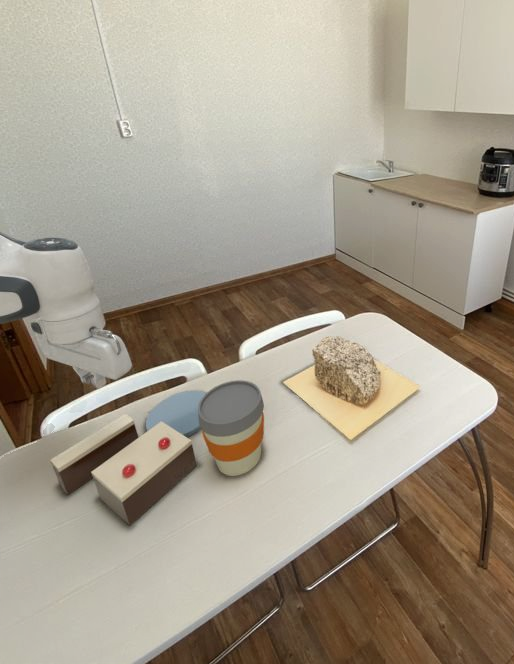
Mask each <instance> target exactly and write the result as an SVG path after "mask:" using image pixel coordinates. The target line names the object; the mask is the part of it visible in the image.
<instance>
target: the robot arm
mask: <svg viewBox="0 0 514 664" xmlns="http://www.w3.org/2000/svg"><path fill="white" fill-rule="evenodd" d="M94 281H95V280H94V277H93V274H92V270H91V267H90V265H89V262H88V260H87V257H86V255H85V253H84V251H83V249H82V248H81V247H80V245H79V244H78V243H77V242H75V241H73V240H71V239H68V238H64V237H56V236H55V237H54V236H53V237H51V236H49V237H42V238H35V239H31V240H29V241H23V240H19V239H17V238H15V237H12V236H9V235H7V234H6V233H3V232H2V231H0V325H1V324H6V323H10V322H14V321H18V320H21V319H26V318H28V317H30V316H33V315H38V317H35V318H34V319H31V320H30V321H28V327H29V330H30V331H31V332H33V333H34V336H35V338H36V341H37V344H38V346H39V348H40V351H41V352H42V354H43V355H44V356H45V357H46V359H48V360H51V361H55V362H58V363H61V364H64V365H67V366H70V367H72V369H73V371H74V372H75V373H76V375H78V376H79V378H80V381H81V383H82V384H85V385H87V386H88V385H91V384H92V387H94V388H96V389H101V388H102V387H104V386H105V385H106V384H107V379H111V380H113V381H116V380H118V379H120V378H122V376H124V375H126V374H127V373H128V372H130V371H131V369H132V367H133V363H132V360H131V357H130V354H129V352H128V349H127V347H126V344H125V343H124V341H123V340H122V338H121V337H120V336H118V335H117V334H113V331H111V330H108V329H107V330H105V329H104V328H105V326H106V319H105V315H104V311H103V309H102V306H101V302H100V299H99V297H98V295H97V294H96V293H95V290H94V286H95V285H94V283H95V282H94ZM106 378H107V379H106Z"/></svg>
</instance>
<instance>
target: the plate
mask: <svg viewBox="0 0 514 664" xmlns="http://www.w3.org/2000/svg"><path fill="white" fill-rule="evenodd" d="M206 393H207V392H204V391H201V390H186V391H185V390H184V391H180V392H179V393H178V392H177V393H175V394H173V395H169V396H168V397H166V398H164V399H163V400H161V401H160V402H159V403H157V404H156V405H155V406H154V407H153V408H151V410H150V411H149V413H148V415H147V417H146V420H145V429H146V432H147V431H149V430H150V429H151V428H153V427H154V426H156V425H157V424H158V423H160V422H161V421H162V422H163V423H165V424H166V425H168V426H170V427H171V428H173V429H174V430H176V431H177V432H179V433H181V434H182V435H184V436H185V437H187V438H188V437H191V436H193V435H194V434H196V433H198V432H199V431H201V430H202V429H201V428H200V426H199V420H198V405H199V402H200V401H201V399H202V397H203V396H204V395H205V394H206Z"/></svg>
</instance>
